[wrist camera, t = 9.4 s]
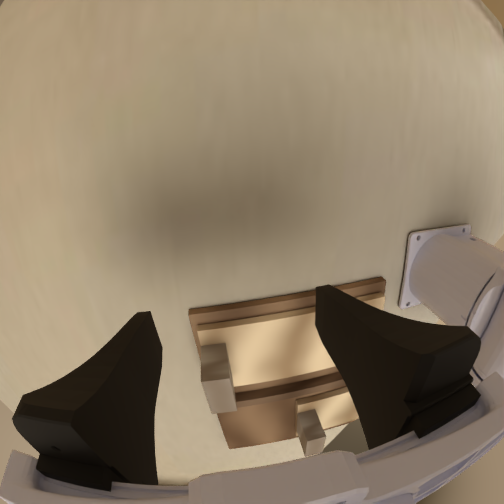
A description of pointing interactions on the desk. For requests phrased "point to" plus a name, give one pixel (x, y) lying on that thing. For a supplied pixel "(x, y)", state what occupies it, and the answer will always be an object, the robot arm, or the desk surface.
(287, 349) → the empty strip
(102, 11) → the desk surface
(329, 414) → the strip
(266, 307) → the lane board
